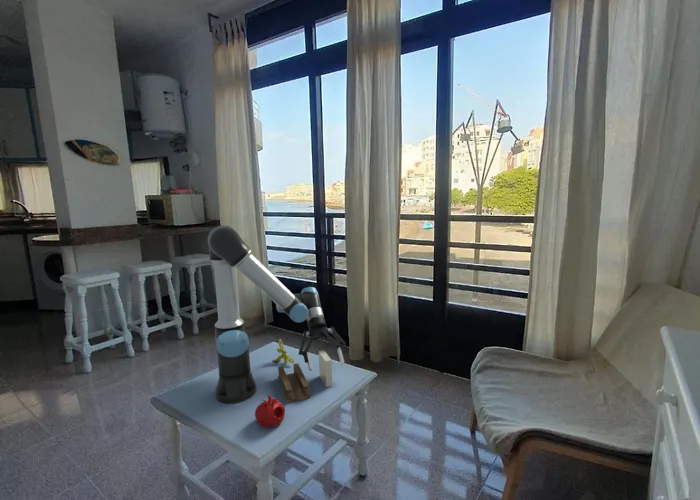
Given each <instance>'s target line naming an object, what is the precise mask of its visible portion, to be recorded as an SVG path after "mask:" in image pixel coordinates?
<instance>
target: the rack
mask: <svg viewBox="0 0 700 500" xmlns="http://www.w3.org/2000/svg"><path fill="white" fill-rule="evenodd" d="M292 364H293V372H292V373H286V370H285V368H284V366H283V365H281V366H278V367H277V370H278V371H277V372H278V375H277V379H278V382H279V385H280V388H281V390H282V394H283V395H284V399H285V402H286V404H288V403H293V402H298V401H302V400H307V399H311V394H310V393H311V392H310V385H309V382H308V380H307V379H306V376H305V374H304V373H303V370H302V368H301V366H300V365H299V363H298V362H297V363H292Z"/></svg>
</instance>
